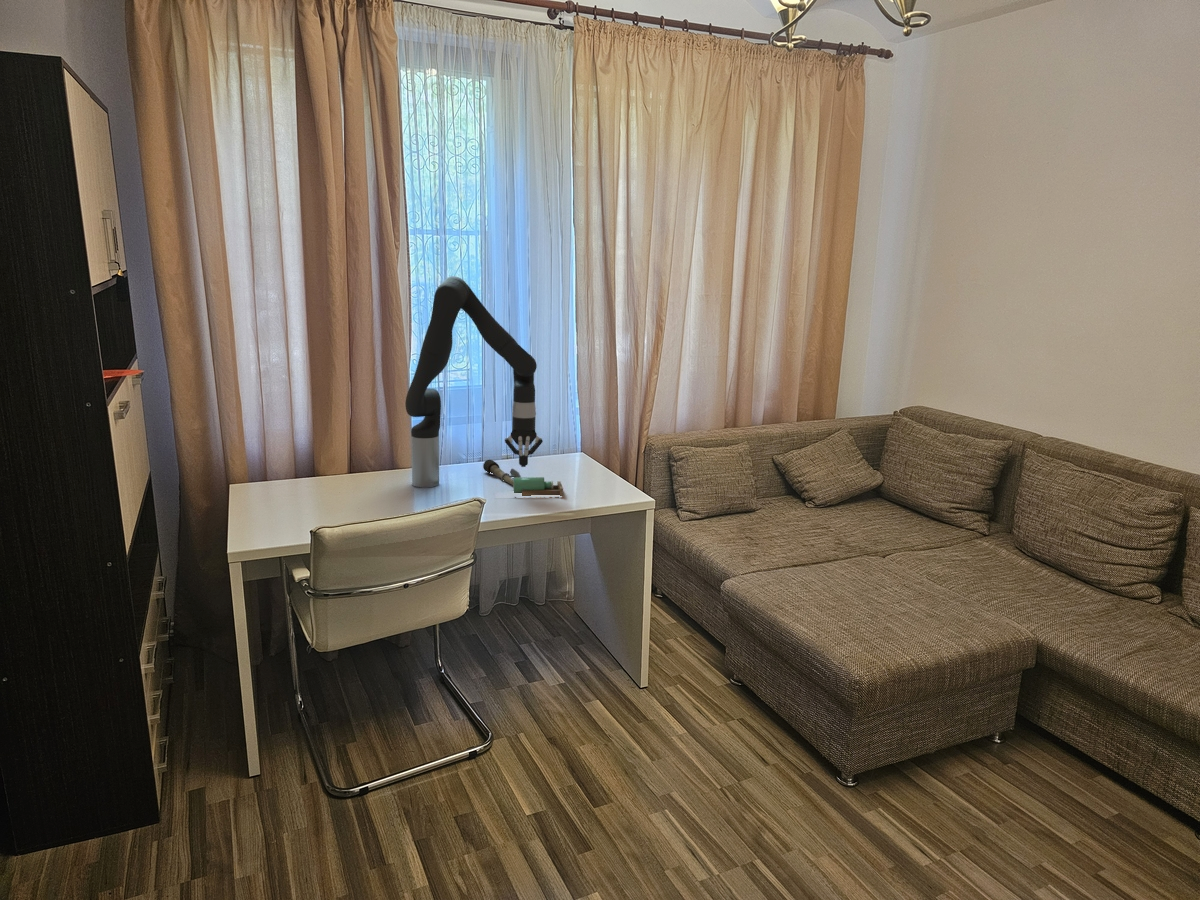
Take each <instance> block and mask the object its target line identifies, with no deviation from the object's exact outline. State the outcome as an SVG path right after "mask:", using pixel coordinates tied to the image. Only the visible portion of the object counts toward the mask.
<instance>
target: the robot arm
mask: <svg viewBox="0 0 1200 900" xmlns="http://www.w3.org/2000/svg"><path fill="white" fill-rule="evenodd" d="M432 303H433V305H432V308H431V309H432V310H431V316H430V320H429V323H428V324H429V325H428V326H427V329H426V332H425V335H424V338H423V342H422V344H421V349H420V352H419V353H420V354H419V357H418V363H417V364H416V365H417V366H416V369H415V372H414V376H413V378H412V379H411V380H412V381H411V383H410V385H409V388H408V391H407V393H406V397H405V404H404V405H405V410H406V413H407V415H408V416H410V417H412V418H419V417H420V418H421V417H423V419H422V420H421V421H420V422H419V423H417V424H416V425H414V426H412V427H411V428H410V429H411V430H410V435H411V437H410V438H411V443H410V444H411V484H412V486H413V487H417V488H431V487H432V488H433V487H437V486H439V485H440V428H441V415H442V413H441V412H442V399H441V396H440V393H439V391H438V390H437V389H436V388H428V387H429V386H430V384H431V383H432V382H433V381H434V380H435V379H436V378H437V376H439V375H440V374H441V373H442V372H443V371H444V369H445V368H446V367H447V365H448V363H449V361H450V356H451V353H452V348H453V330H454V329H453V328H454V325H455V322H456V320H457V318H458V315H459V313H460V311H461V310H462V311H464V312H465V314H466V315H468V316H469V318H470V319H471V321H472V322H473V323H474V325H475V328H476V329H477V330H478V332H479V334H480V335H481V337H482V339H483V340H484V341H485V342H486V344H487V345H489V346H490V347H491V348H492V350H494V352H496V353H497V354H498V355H499V356H500V357H501V358H503V359H504V361H505V362H507V364H508V365H509V366H510V367H511V368H512V371H513V372H512V373H513V396H512V397H513V399H512V401H513V402H512V403H513V404H512V411H511V412H512V419H511V420H512V421H511V422H512V423H511V424H512V425H511V429H512V430H511V432H510V435H509V436H508V437H505V438H504V443H505V444H506V445H507V446H508V448H509V449H510V450H511V452H512V453H513V454H514V455H518V464H519V466H520V467H521V468H526V466H528V465H529V464H528V463H529V456H530V455H533V454H534V453H535V452H536V451H537V450H538V448H539V447H540V446H541V445H542V444H543V442H544V441H543V438H541V437H539V436H538V433H537V431H536V415H537V413H536V412H537V411H536V409H537V408H536V387H535V382H534V381H535V373H536V370H537V367H538V365H537V361H536V359H535V358H534V357H533V356H532V355H531V354H530V353H529V352H528V351H526V350H525V349H524V348H523V347H522V346H521V345H520V344H519V343H518V342H517V340H515V338H514V337H513V336H512V335H511V334H510V333H509V332H508V331H507V330H506V329H505V328H504V327H503V326H502V325H500V323H499V322H498V321H497V320H496V319H495V318H494V317H493V316H492V314H491V313H490V312H489V311H488V310H487V308H486V307H485V306H484V304H483V303H482V302H481V301H480V299H479V298H478V296H477V295H476V293H475V292H474V291H473V290H472V289H471V287H470V285H468V283H467V282H466V281H465V280H464V279H463V278H461V277H459V276H453V275H451V276H449V277H447V278H445V279H444V280H443V281H442V282H441V283H440V284H439V285H438V287H437V288H436V290H435V292H434V296H433V302H432ZM513 442H515V444H516V445H517V447H518V449H517V448H516V447H515V445H514V444H513ZM533 442H534V444H533V445H532V447H531V448H530V445H531V444H532V443H533ZM523 447H524V448H523Z"/></svg>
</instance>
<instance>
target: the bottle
mask: <svg viewBox="0 0 1200 900" xmlns="http://www.w3.org/2000/svg"><path fill="white" fill-rule="evenodd" d="M512 480H513V485H512V487H513V488H512V489H513V490H512V491H514V493H522V490H544V489H553V485H554V481H553V480H551V481H549V480H548V481H545V477H543V476H541V477H538V476H537V477H533V476H532V477H531V476H530V477H527V476H526V477H525V476H524V477H522V476H521V477H514V479H513V478H512Z"/></svg>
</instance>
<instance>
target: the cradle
mask: <svg viewBox="0 0 1200 900" xmlns="http://www.w3.org/2000/svg"><path fill="white" fill-rule="evenodd" d="M531 495H560V496H563V497H564V487H563V484H562V482H561V481H557V484H553V489H544V490H522V496H531Z"/></svg>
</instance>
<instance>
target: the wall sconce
mask: <svg viewBox="0 0 1200 900" xmlns="http://www.w3.org/2000/svg"><path fill="white" fill-rule="evenodd" d="M482 467H483V469H484V471H485V472H486V471H487V472H489V473H490V472H491V473H493V474H495V475H494V476H496V477H498V478H499V477H500V478H499V479H501V481H502V480H504V481H505V483H506V482H507V483H508V484H509V485H512V486H513V478H512V477H522V476H521V474H520V471H517V470H516V469H514V468H513V467H512V468H511V470H510V471H509V473H507V472H506V473H505V472H504V471H503V470H502V469H501V467H500V465H499V464H498V462H496V461H495V460H492V459H487V460H485V461H484V463H483V464H482ZM487 472H486V473H487ZM489 473H488V474H489Z"/></svg>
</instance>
